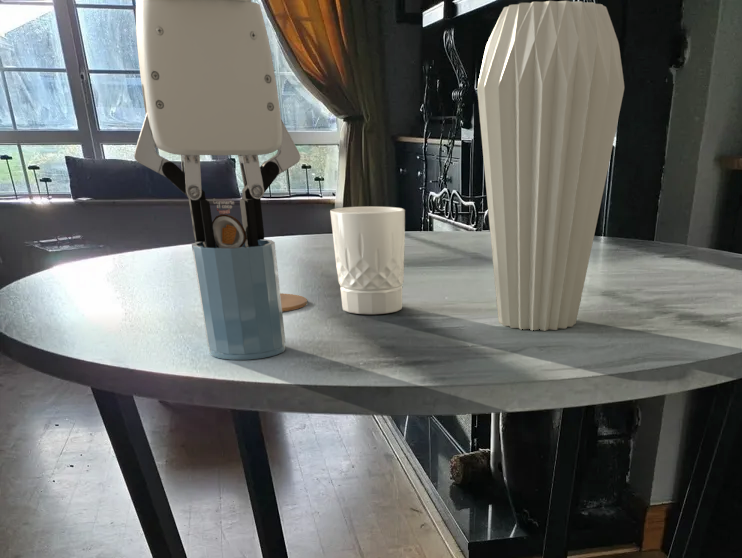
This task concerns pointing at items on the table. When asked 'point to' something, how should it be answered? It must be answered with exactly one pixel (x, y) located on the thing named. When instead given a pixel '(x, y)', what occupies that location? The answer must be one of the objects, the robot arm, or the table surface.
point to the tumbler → (240, 300)
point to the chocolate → (228, 229)
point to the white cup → (369, 257)
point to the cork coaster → (292, 302)
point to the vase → (547, 152)
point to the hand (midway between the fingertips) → (230, 248)
